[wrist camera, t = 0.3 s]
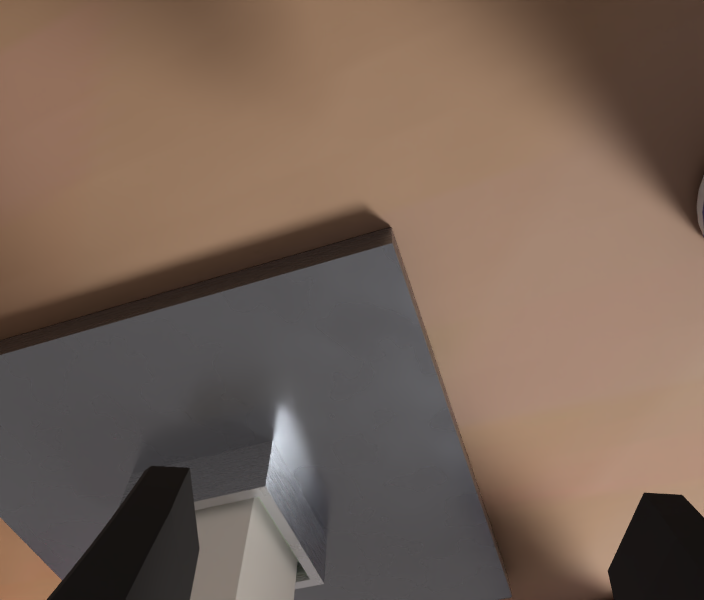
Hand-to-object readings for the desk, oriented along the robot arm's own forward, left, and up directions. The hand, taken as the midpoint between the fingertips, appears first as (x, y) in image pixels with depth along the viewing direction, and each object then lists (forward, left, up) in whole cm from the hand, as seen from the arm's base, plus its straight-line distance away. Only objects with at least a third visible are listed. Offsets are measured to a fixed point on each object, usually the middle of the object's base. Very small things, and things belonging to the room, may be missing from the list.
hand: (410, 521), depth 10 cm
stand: (-9, +9, -10) cm, 16 cm away
